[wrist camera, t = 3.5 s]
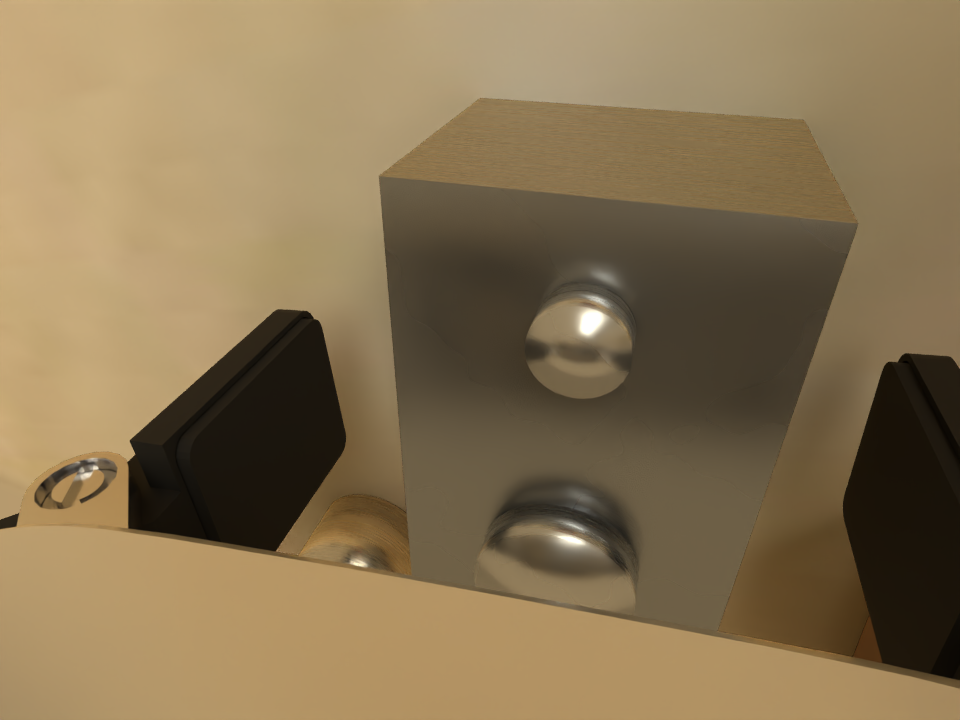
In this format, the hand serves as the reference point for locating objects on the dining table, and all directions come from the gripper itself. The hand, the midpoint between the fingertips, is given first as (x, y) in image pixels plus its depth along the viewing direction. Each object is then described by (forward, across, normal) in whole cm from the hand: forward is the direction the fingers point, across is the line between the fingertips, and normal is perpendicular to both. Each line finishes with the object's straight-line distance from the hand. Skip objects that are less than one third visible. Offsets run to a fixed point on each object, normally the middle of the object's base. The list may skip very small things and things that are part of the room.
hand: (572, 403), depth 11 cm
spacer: (+2, +6, +7) cm, 9 cm away
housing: (+2, 0, 0) cm, 2 cm away
